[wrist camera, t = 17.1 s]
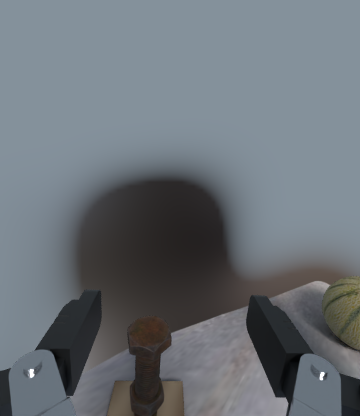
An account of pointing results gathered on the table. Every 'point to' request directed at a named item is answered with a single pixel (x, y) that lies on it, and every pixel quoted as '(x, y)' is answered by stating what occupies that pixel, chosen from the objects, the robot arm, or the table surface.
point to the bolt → (147, 363)
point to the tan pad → (168, 412)
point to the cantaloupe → (344, 310)
